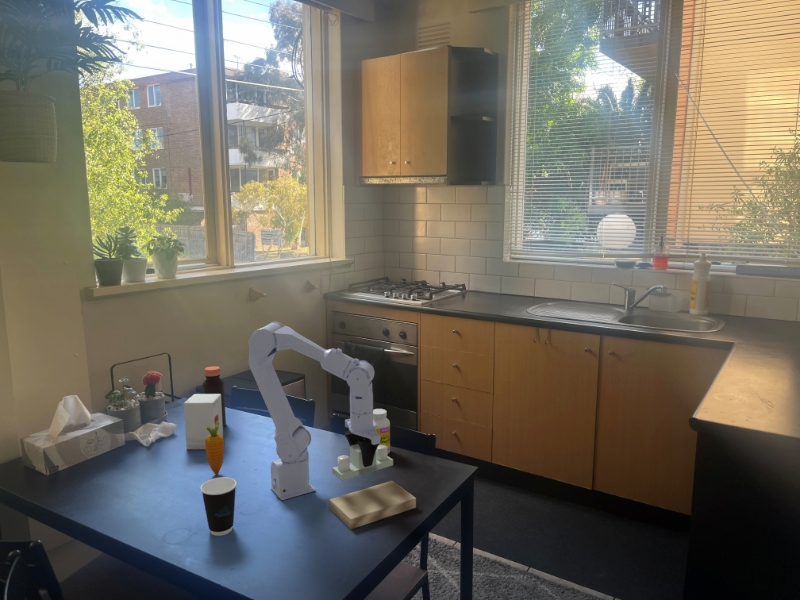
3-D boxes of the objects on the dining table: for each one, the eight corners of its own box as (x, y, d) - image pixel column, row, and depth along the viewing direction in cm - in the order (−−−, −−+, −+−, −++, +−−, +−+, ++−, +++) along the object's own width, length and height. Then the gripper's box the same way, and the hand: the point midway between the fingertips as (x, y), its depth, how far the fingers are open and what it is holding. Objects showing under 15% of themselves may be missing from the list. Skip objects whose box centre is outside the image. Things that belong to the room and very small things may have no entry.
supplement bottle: (380, 459, 173) (380, 417, 171) (363, 453, 177) (362, 412, 175) (394, 451, 179) (394, 410, 176) (377, 446, 182) (377, 406, 180)
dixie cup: (224, 542, 131) (221, 496, 129) (195, 535, 134) (192, 489, 132) (246, 524, 138) (244, 480, 137) (218, 518, 141) (215, 474, 139)
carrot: (208, 480, 161) (205, 427, 158) (205, 472, 165) (202, 421, 163) (227, 476, 163) (224, 424, 161) (224, 469, 167) (221, 418, 165)
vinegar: (201, 428, 197) (197, 370, 194) (211, 421, 204) (207, 364, 201) (220, 429, 196) (217, 371, 193) (229, 422, 203) (226, 365, 200)
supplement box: (215, 450, 180) (212, 402, 178) (185, 450, 180) (182, 402, 178) (224, 438, 189) (221, 393, 187) (196, 438, 189) (193, 393, 187)
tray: (341, 480, 145) (340, 457, 144) (332, 473, 149) (331, 450, 148) (393, 465, 153) (392, 443, 152) (383, 458, 157) (383, 437, 156)
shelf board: (350, 529, 136) (350, 519, 136) (329, 508, 145) (329, 499, 145) (415, 507, 146) (415, 498, 145) (392, 489, 155) (392, 480, 154)
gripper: (390, 415, 145) (391, 468, 147) (361, 399, 157) (362, 448, 159) (365, 421, 141) (366, 475, 143) (337, 404, 153) (338, 454, 155)
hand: (362, 461), depth 151 cm, fingers closed on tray, 5 cm apart
